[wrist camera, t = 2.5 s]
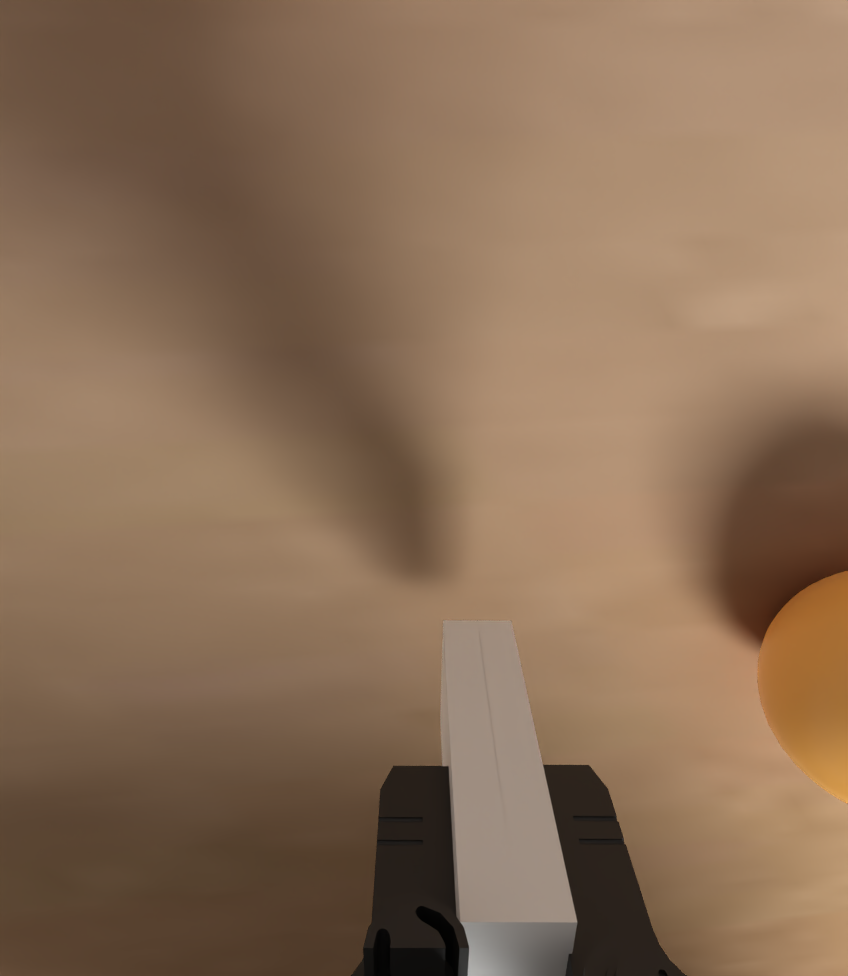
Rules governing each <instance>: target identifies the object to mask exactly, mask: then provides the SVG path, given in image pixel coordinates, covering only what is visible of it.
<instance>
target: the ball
mask: <svg viewBox="0 0 848 976" xmlns="http://www.w3.org/2000/svg"><path fill="white" fill-rule="evenodd" d="M757 682H758V688H759V694H760V700H761V704H762V707H763V710H764V713H765V716H766V718H767V721H768V724H769V726H770V728H771V729H772V731H773V733H774V735H775V736H776V738H777V740H778V742H779V743H780V745H781V747H782V748H783V749H784V750H785V752H786V753H787V754H788V756H789V757H790V758H791V759H792V760H793V762H794V763H795V764H796V765H797V766H798V767H799V768H800V769H801V770H802V771H803V772H804V773H805V774H806V775H807V776H808V777H809V778H810V779H812V780H813V781H814V782H815V783H816V784H817V785H819V786H820V787H822V788H823V789H824V790H826V791H827V792H828V793H830V794H831V795H833V796H835V797H836V798H838V799H840V800H841V801H843V802H845V803H847V804H848V571H844V572H840V573H837V574H834V575H831V576H829V577H826V578H824V579H821V580H819V581H817V582H815V583H813V584H811V585H810V586H808V587H806V588H805V589H803V590H802V591H800V592H799V593H798V594H796V595H795V596H794V597H793V598H792V599H791V600H789V601H788V602H787V603H786V604H785V605H784V607H783V608H782V609H781V610H780V611H779V613H778V614H777V615H776V616H775V618H774V619H773V621H772V622H771V624H770V626H769V628H768V630H767V632H766V634H765V637H764V640H763V642H762V646H761V649H760V653H759V659H758V680H757Z"/></svg>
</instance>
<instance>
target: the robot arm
mask: <svg viewBox="0 0 848 976" xmlns="http://www.w3.org/2000/svg"><path fill="white" fill-rule="evenodd" d="M440 724H441V749H442V766H393V768H392V770H391V771H390V773H389V775H388V777H387V779H386V780H385V782H384V784H383V786H382V788H381V789H380V804H379V822H378V835H377V850H376V865H375V881H374V896H373V911H372V923H371V925H370V926H369V928H368V932H367V936H366V940H365V943H364V947H363V954H364V958H363V960H362V962H361V963H360V964H359V966H358V967H357V968H356V970H355V971H354V973H353V974H352V975H351V976H686V975H685V974H684V973H682V972H681V971H680V970H679V969H678V968H677V967H676V966H675V965H674V964H673V963H672V962H671V961H670V960H669V958H668V957H667V955H666V954H665V952H664V951H663V949H662V948H661V946H660V945H659V943H658V941H657V938H656V936H655V934H654V931H653V929H652V926H651V923H650V919H649V916H648V913H647V910H646V907H645V904H644V901H643V897H642V894H641V891H640V888H639V885H638V882H637V879H636V876H635V872H634V869H633V866H632V863H631V860H630V857H629V854H628V850H627V847H626V845H624V838H623V835H622V832H621V829H620V825H619V822H617V818H616V817H617V816H616V813H615V810H614V807H613V803H612V800H611V797H610V794H609V791H608V788H607V787H606V786H605V785H604V783H603V782H602V781H601V780H600V778H599V777H598V776H597V775H596V773H595V772H594V771H593V770H592V768H591V767H590V766H589V765H543V763H542V758H541V754H540V749H539V744H538V740H537V735H536V731H535V726H534V721H533V717H532V712H531V708H530V703H529V699H528V694H527V689H526V685H525V680H524V676H523V671H522V666H521V662H520V657H519V653H518V648H517V644H516V639H515V634H514V630H513V625H512V621H496V620H443V642H442V674H441V707H440Z"/></svg>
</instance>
